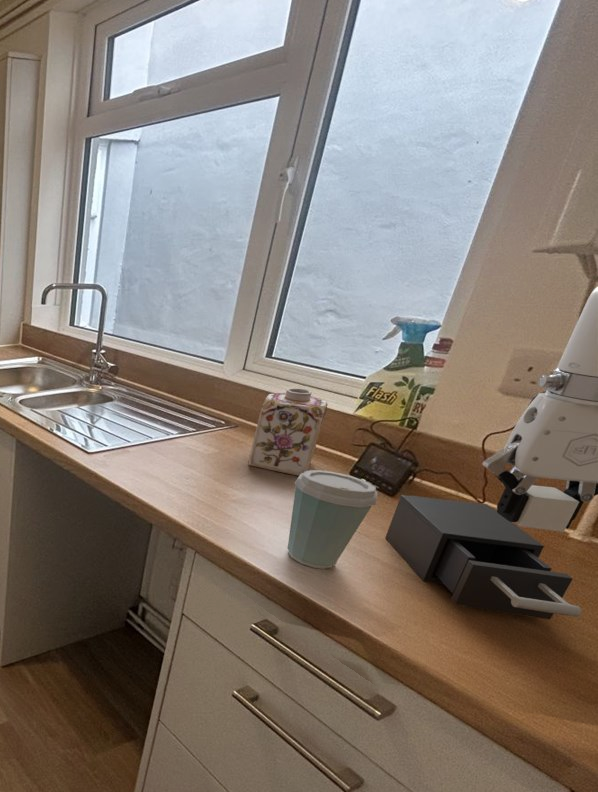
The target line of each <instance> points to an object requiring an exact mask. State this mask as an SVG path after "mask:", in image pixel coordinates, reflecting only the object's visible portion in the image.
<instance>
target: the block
mask: <svg viewBox="0 0 598 792" xmlns="http://www.w3.org/2000/svg"><path fill="white" fill-rule="evenodd" d="M563 492H564V491H562V490H560V489H558V488H556V487H554V486H553V487H552V486H544V485H534V484H533V485H532V486H531V487H530V488H529V489H528V490H527V492H526V493H525V494H526V495H527V496H529V499H528V501H527V503H526V505H525V507H524V509H523V511H522V513H521V516H520V518H519V520H518V521H517V522H514V524H515V525H516V526H518V527H519V528H520V527H521V528H529V529H536V530H546V531H554V532H563V533H564V532H565V530H566V529H567V528H566V526H567V525H568V523H569V521H570V519H571V517H572V515H573V513H574V511H575V509H576V507H577V505H578V504H579V501H577V500H575V499H574V498H572V497H570V496H568V495H567V494H565V493H563Z"/></svg>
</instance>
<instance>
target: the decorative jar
mask: <svg viewBox="0 0 598 792" xmlns="http://www.w3.org/2000/svg"><path fill="white" fill-rule="evenodd" d="M328 405H329V404H328V402H327V401H325V400H323V399H321V398H318V397H315V396H312V391H311V390H309V389H306V388H300V387H290V388H287V389H286V391H285V392H276V393H269V394H268V395H267V396H266V397H265V398H264V401H263V404H262V405H261V408H260V411H259V416H258V420H257V424H256V428H255V433H254V436H253V441H252V445H251V449H250V454H249V459H248V462H247V465H248V466H250V467H256V468H260V469H264V470H270V471H274V472H279V473H283V474H287V475H288V474H289V475H294V476H298V477H299V475H300V474H301V473H304V472H305V471H309V468H310V466H311V462H312V459H313V457H314V454H315V450H316V447H317V443H318V440H319V437H320V434H321V431H322V426H323V421H324V419H325V415H326V412H328V410H327V409H328Z"/></svg>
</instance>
